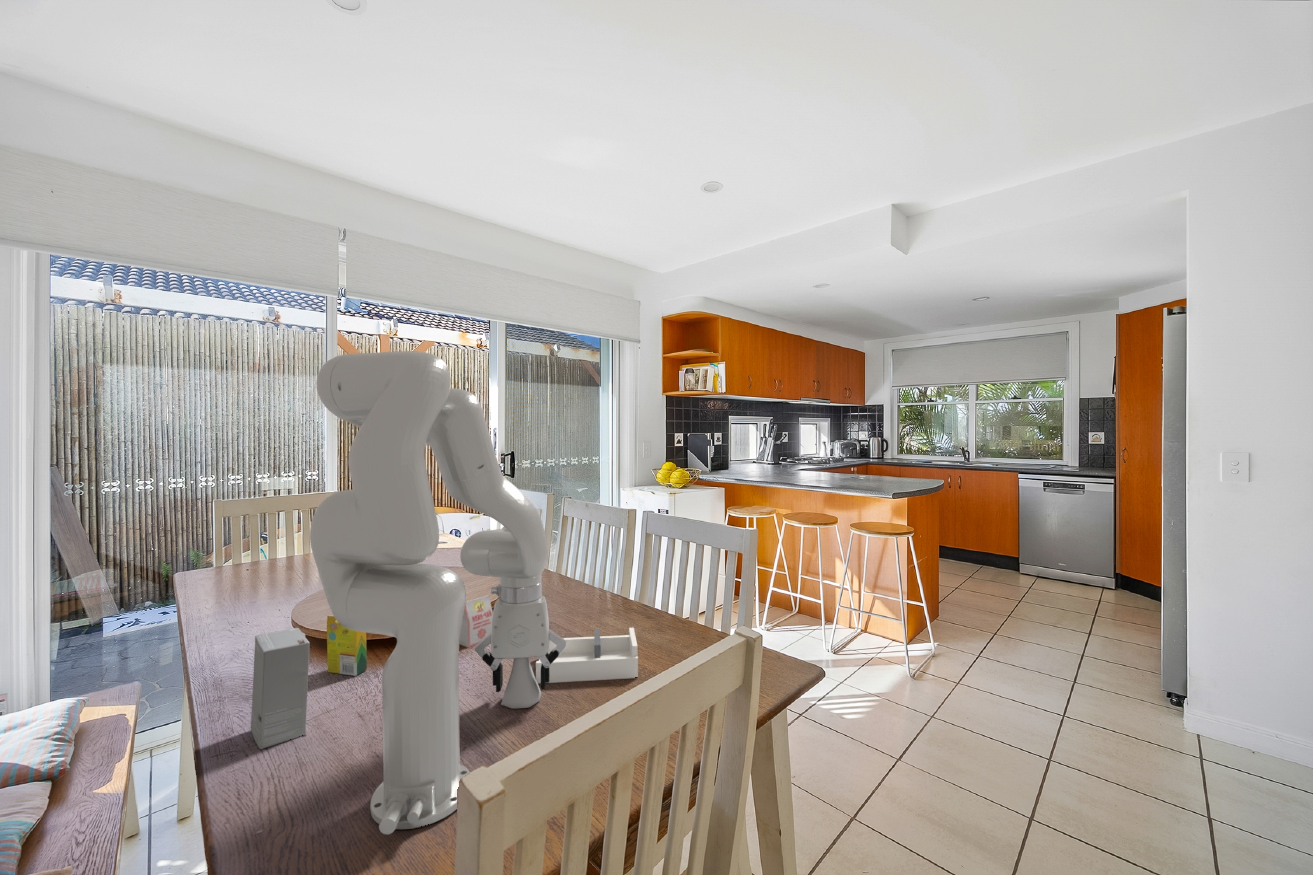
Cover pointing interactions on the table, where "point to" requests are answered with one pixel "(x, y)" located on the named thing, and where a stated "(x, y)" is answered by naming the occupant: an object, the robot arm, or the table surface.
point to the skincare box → (279, 687)
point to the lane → (594, 659)
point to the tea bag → (476, 621)
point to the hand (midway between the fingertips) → (521, 686)
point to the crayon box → (345, 649)
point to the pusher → (597, 644)
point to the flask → (521, 686)
